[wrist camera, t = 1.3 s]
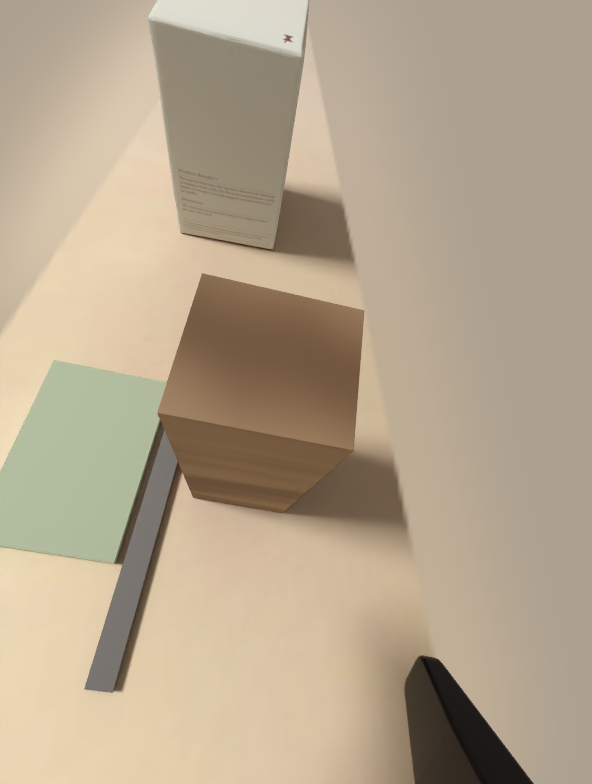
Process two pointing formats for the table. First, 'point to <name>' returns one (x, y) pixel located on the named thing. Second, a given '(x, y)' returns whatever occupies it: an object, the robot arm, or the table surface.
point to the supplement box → (229, 110)
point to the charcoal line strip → (133, 573)
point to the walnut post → (261, 393)
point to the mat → (79, 463)
